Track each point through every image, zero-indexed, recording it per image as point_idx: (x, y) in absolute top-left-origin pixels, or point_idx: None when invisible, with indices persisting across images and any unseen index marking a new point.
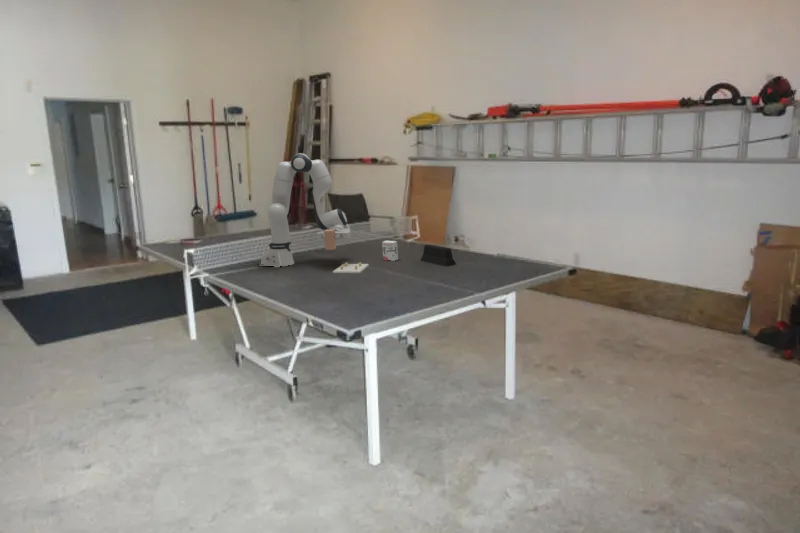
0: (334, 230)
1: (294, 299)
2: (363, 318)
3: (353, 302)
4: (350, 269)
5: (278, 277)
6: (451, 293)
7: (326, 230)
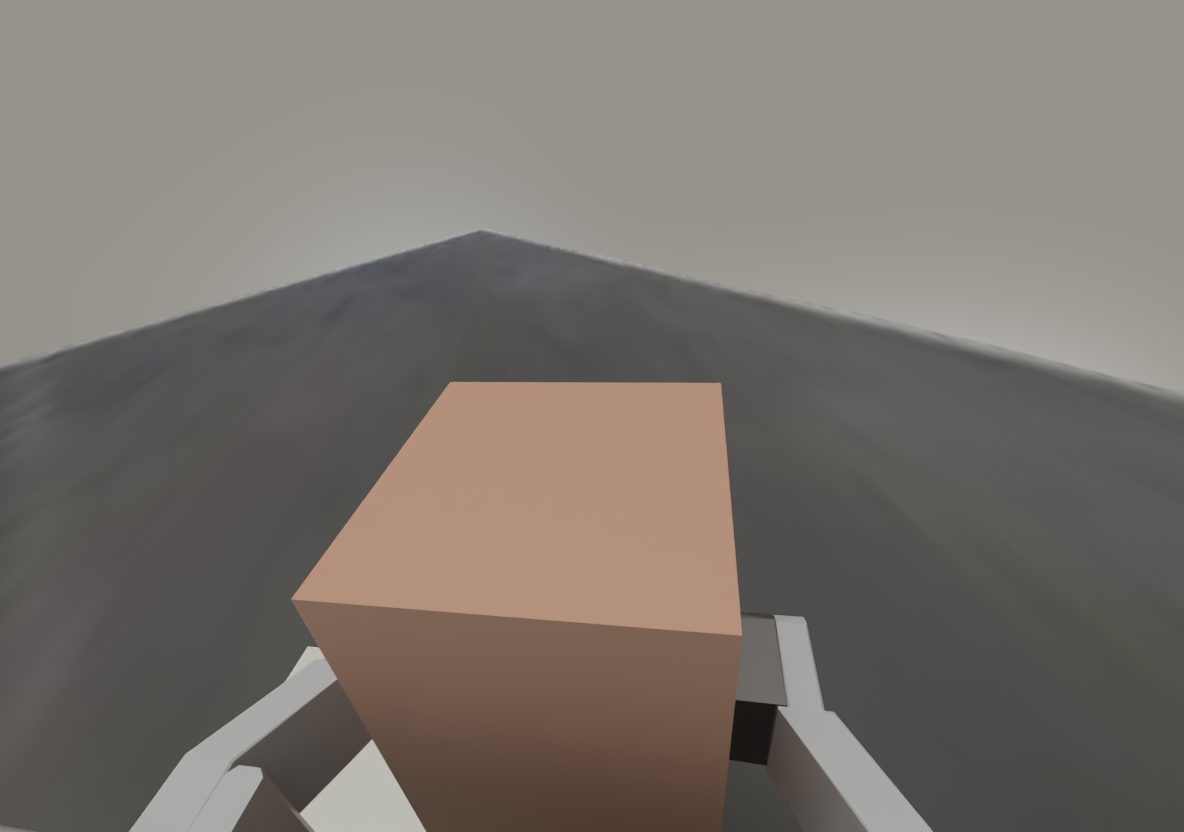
0: (339, 570)
1: (660, 298)
2: (445, 252)
3: (456, 297)
4: (376, 751)
5: (1061, 548)
6: (108, 357)
7: (673, 462)
